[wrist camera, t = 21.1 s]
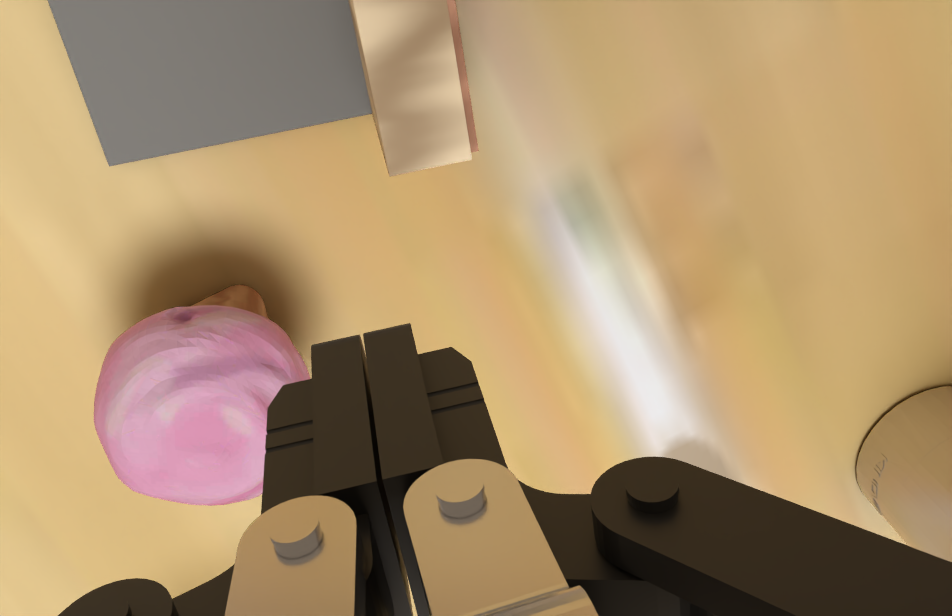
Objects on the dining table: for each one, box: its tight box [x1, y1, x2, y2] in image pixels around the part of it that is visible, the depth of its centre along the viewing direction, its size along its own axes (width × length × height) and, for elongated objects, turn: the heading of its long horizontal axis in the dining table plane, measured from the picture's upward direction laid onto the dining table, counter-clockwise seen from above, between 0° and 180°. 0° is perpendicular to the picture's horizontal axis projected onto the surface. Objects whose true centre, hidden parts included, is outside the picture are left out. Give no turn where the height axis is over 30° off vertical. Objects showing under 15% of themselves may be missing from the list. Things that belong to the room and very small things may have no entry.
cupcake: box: [94, 285, 310, 505], centre depth 38 cm, size 9×9×10 cm
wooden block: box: [348, 0, 478, 176], centre depth 32 cm, size 3×8×10 cm
